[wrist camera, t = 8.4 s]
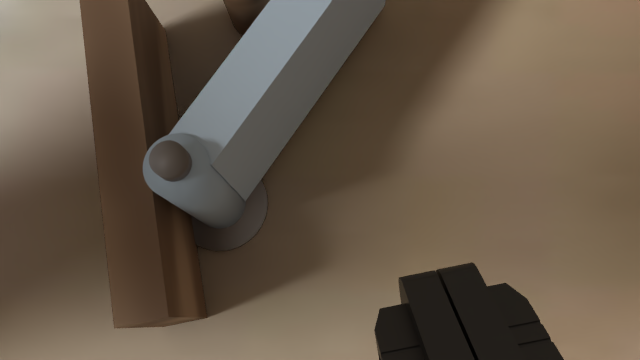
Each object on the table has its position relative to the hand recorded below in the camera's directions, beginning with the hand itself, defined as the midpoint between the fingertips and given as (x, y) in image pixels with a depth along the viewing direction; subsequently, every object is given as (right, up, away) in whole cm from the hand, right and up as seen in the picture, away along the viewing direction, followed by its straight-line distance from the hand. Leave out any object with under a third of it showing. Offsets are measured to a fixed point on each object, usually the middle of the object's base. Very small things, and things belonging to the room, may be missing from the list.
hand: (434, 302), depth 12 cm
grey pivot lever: (-4, +6, +19) cm, 20 cm away
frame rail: (-9, +3, +19) cm, 21 cm away
